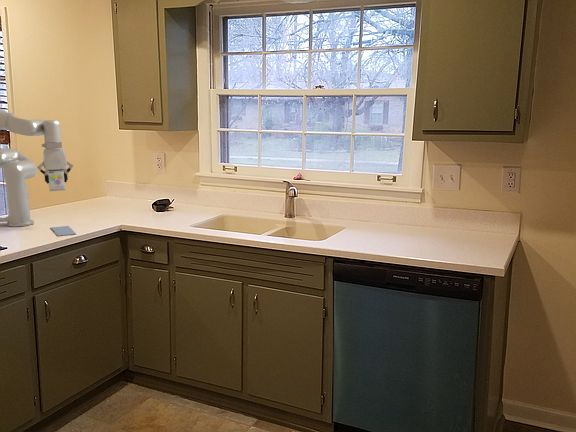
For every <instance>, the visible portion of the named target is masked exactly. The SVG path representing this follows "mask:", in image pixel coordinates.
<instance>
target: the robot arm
mask: <svg viewBox="0 0 576 432" xmlns="http://www.w3.org/2000/svg"><path fill="white" fill-rule="evenodd" d="M1 130H5V131H8V132H11V133H13V134H17V135H20V136H21V135H22V136H27V137H34V136H36V137H38V136H43V137H44V138H43V139H44V143H42V144H41V147H42V148H44V149H43V155H42V160H43V161H42V162H41V163H40V164H39V165H36V164H35V162H34V161H33V160H31V159H30V158H29V157H27V156H25V155H24V154H23V153H21V152H20V151H18V150H17V149H13V148H9V147H8V148H7V147H6V148H0V169H2V175H3V176H2V177H3V179H4V181H5V187H6V195H7V197H6V198H7V207H8V208H7V209H8V215H7V216H6V217H0V223H1V222H2V223H5V225H6V226H7V227H13V228H14V227H26V226H32V225H34V224H35V221H34V220H33V219H31V209H30V197H29V187H28V184H27V182H26V180H28V179H32V178H34V177H36V175H37V173H38V171H39V172H41V174H43V175H44V182H45V183H46V184H48V185H49V176H48V171H49V170H63V172H64V183H67V181H68V177H69V176H68V174H69V172H71V170H72V169H73V168H74V164H73V163H70V162H69V161H68V160H67V155H66V151H65V149H64V148H63V144H62V130H61V122H60V121H59V120H57V119H56V120H55V119H54V120H53V119H51V120H50V119H48V120H47V119H25V118H24V119H23V118H19V117H17V116H16V114H15V113H13V112H7V110H5V109H2V108H0V131H1ZM42 167H43V168H42ZM43 169H44V170H43Z"/></svg>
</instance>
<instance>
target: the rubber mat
mask: <svg viewBox="0 0 576 432" xmlns="http://www.w3.org/2000/svg"><path fill="white" fill-rule="evenodd" d="M50 229H51V230H52V231H53V233H54V234H55V235H56V236H57V237H65V236H75V235H77V233H76V231H74V230H73V228H71V227H70V226H69V225H65V226H64V225H63V226H54V227H50Z"/></svg>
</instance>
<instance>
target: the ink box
mask: <svg viewBox="0 0 576 432" xmlns="http://www.w3.org/2000/svg"><path fill="white" fill-rule="evenodd" d="M48 176H49V183H48V188H49V191H50V192H56V191H58V192H59V191H66V185H65V184H66V182H64V172H63V170H49V171H48Z"/></svg>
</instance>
